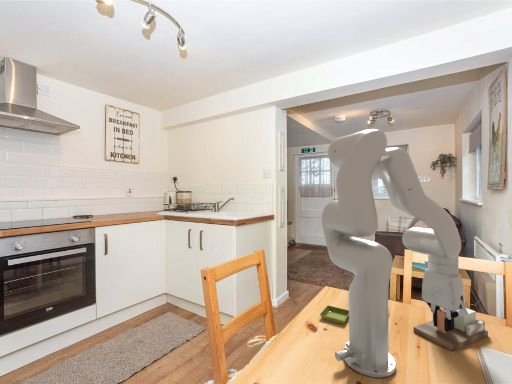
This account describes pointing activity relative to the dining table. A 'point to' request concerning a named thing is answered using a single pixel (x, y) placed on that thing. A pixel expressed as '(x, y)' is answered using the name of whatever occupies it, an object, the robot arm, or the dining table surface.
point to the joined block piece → (456, 320)
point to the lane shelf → (453, 334)
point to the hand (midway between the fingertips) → (443, 327)
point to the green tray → (335, 314)
